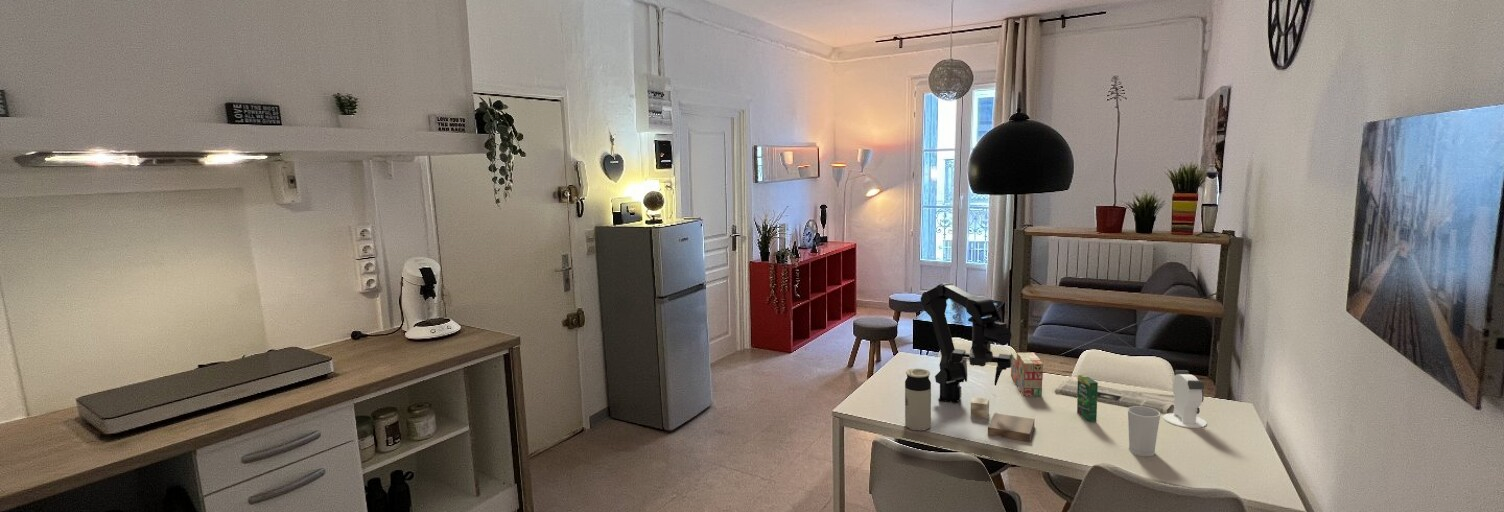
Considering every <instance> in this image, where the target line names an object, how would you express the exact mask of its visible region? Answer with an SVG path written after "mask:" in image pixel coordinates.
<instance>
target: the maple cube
mask: <svg viewBox="0 0 1504 512" xmlns="http://www.w3.org/2000/svg"><path fill="white" fill-rule="evenodd" d="M989 414H990V399H989V398H984V397H976V396H973V397H972V399H971V400H970V417H971V416H972V417H973V418H978V419H979V418H980V419H985V420H987V419H988V416H989Z"/></svg>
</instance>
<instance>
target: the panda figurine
mask: <svg viewBox="0 0 1504 512" xmlns="http://www.w3.org/2000/svg"><path fill="white" fill-rule="evenodd" d="M1173 375H1174V377H1173V382H1172V393H1173V395H1174V397H1175V401H1174V403H1173V412H1167V414H1163V416H1162V419H1163V420H1164V421H1165V422H1167V423H1168V424H1171V425H1173V426H1177V427H1181V428H1187V429H1202V428H1205V427H1206V426H1207V421H1206V420H1204V419H1203V418H1201V417H1199V416H1197V415H1199V414H1200V406H1201V404H1202V403H1204V397H1205V396H1204V391H1203V390H1204V389H1205V388H1204V387H1205V385H1204V381H1203V380H1199V379H1198V378H1197V377H1196V376H1195V375H1193V374H1190V371H1189V370H1187V369H1186V370H1184V369H1181V370H1180V369H1175V370H1174V372H1173ZM1204 426H1205V427H1204ZM1201 427H1202V428H1201Z"/></svg>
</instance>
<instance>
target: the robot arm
mask: <svg viewBox="0 0 1504 512" xmlns="http://www.w3.org/2000/svg"><path fill="white" fill-rule="evenodd" d="M948 300H951V301H952V302H954V303H956V304H958V305H960V306H961V307H962V308H963V307H964V309H965V311H966V313H967V314H968V315H970V317H969V318H968V320H967V322H969V323H972V327H971V328H972V329H971V331H972V333H971V348H970V351H969V353H966V350H965V349H958V348H955V345H954V341H953V337H952V334H951V332H950V331H951V330H950V327H949V325H948V320H947V317H946V311H947V306H948V303H947V301H948ZM920 303H921V305H922V307H923V311H924V312H925V313H926V314H927V315H928V316H929V317H930V319H931V322H932V327H933V330H934V333H935V337H936V340H937V345H938V348H939V352H940V355H941V357H940V362H939V370H940V371H939V372H938V373H937V374H935V376H934V379H935V380H934V381H935V383H936V384H939V397H938V401H940V402H946V403H954V404H957V403H958V402H959V401H960V400H961V398H962V386H960V385H961V383H964V382H965V383H966V382H968V360H969V365H970V366H979V367H982V368H983V367H985V366H986V365H987V364H988V363H995V364H997V365H996V368H995V376H994V386H997V384H998V381H999V378H1000V375H1001V373H1002V372H1003V370H1004V371H1006V370H1007V369H1011V365H1012V363H1013V357H1012V356H1011V354H1008V353H1007V354H1005V353H999V354H998V356H994V355H993V351H992V350H991V349H992V348H991V347H992V345H991V344H992V343H994V344H997V345H1000V346H1006V345H1008V344H1010V342H1011V339H1012V331H1011V330H1010V328H1009V327H1007V323H1005V322H1002V319H1001V315H1000V313H999V311H998V310H997V308H996V307H997V306H996V305H995V303H994V301H993V300H992V299H991V298H987V297H984V296H975V295H973V294H971V293H969V292H968V291H966V290H964V289H961V288H959V287H958V286H956V285H954V284H953V283H951V282H944V283H943V282H942V283H939V284H938V285H936V286H935V287H934V288H931V289H930V290H928V291H924V292H923V293H922V295H921V296H920Z"/></svg>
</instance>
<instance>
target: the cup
mask: <svg viewBox="0 0 1504 512" xmlns="http://www.w3.org/2000/svg"><path fill="white" fill-rule="evenodd" d="M1161 414H1162V413H1160V412H1159V411H1157V410H1155V409H1152V408H1149V407H1143V406H1133V407H1127V421H1128V422H1127V424H1128V450H1129V452H1130V453H1132V454H1133V455H1136V456H1140V457H1153V456H1155V455H1156V453H1155V452H1156V445H1157V439H1158V432H1159V425H1160V420H1161Z"/></svg>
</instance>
